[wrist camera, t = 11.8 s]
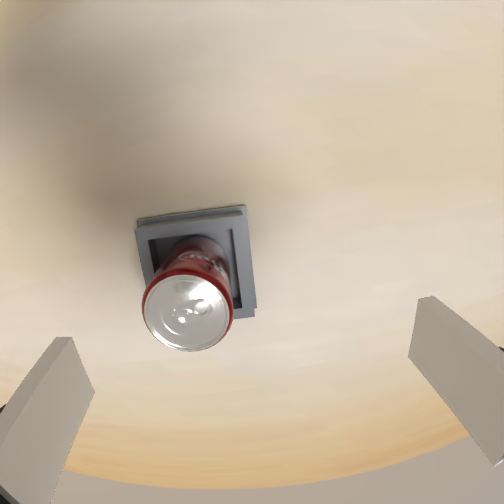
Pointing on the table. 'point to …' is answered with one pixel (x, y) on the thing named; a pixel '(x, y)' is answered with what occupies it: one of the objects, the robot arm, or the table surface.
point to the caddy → (210, 226)
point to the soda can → (190, 296)
